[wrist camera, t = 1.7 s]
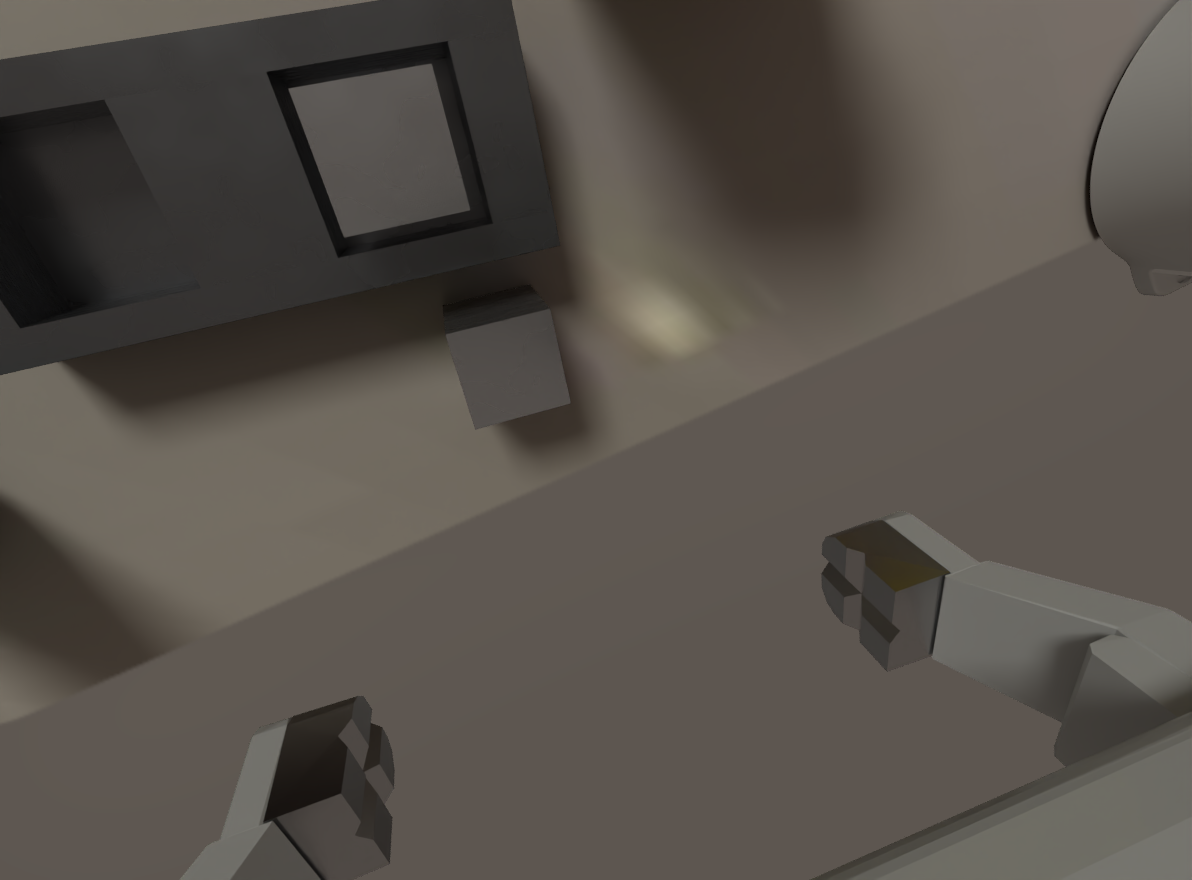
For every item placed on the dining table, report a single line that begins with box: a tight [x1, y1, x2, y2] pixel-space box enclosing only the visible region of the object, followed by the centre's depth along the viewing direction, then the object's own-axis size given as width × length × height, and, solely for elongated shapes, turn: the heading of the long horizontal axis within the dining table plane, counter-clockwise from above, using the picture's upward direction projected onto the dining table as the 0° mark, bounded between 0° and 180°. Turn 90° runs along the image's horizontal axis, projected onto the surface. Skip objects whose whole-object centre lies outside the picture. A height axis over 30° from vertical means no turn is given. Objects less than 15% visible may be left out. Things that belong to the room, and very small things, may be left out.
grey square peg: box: [289, 63, 470, 238], centre depth 19 cm, size 4×4×5 cm
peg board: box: [0, 0, 560, 375], centre depth 20 cm, size 20×8×4 cm, turn 101°
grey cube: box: [443, 284, 571, 430], centre depth 24 cm, size 4×4×5 cm
